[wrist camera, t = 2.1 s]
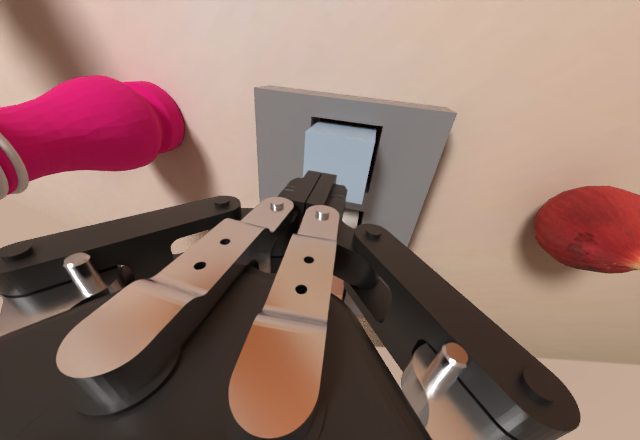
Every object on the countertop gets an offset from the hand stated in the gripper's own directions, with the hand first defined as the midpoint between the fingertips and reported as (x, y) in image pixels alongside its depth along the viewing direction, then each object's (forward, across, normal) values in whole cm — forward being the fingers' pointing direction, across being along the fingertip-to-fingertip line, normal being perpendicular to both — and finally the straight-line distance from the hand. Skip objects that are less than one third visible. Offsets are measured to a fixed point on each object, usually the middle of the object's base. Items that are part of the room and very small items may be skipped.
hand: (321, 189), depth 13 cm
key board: (+10, 0, +7) cm, 12 cm away
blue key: (+8, 0, 0) cm, 8 cm away
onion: (+10, -18, +2) cm, 21 cm away
